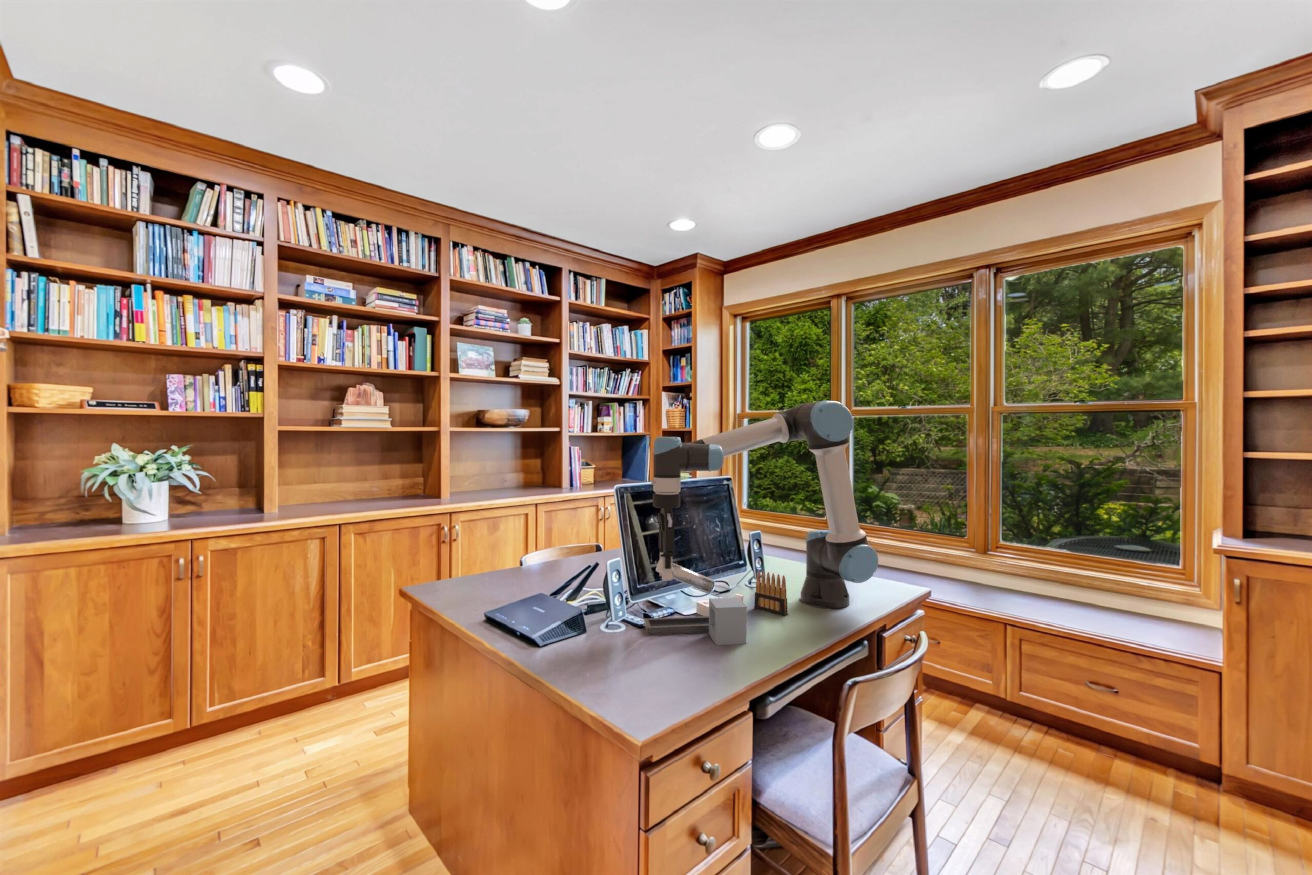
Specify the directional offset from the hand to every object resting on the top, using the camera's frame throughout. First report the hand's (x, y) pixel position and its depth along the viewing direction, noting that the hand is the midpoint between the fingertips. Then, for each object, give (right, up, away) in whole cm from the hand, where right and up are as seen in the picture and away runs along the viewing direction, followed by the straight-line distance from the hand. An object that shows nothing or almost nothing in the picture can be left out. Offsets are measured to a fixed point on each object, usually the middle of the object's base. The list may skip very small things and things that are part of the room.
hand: (665, 577), depth 151 cm
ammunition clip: (+32, -15, +16) cm, 39 cm away
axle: (+5, 0, +1) cm, 5 cm away
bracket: (+16, -15, +11) cm, 24 cm away
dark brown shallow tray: (+5, -14, +1) cm, 15 cm away
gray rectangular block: (+16, -14, -7) cm, 22 cm away
